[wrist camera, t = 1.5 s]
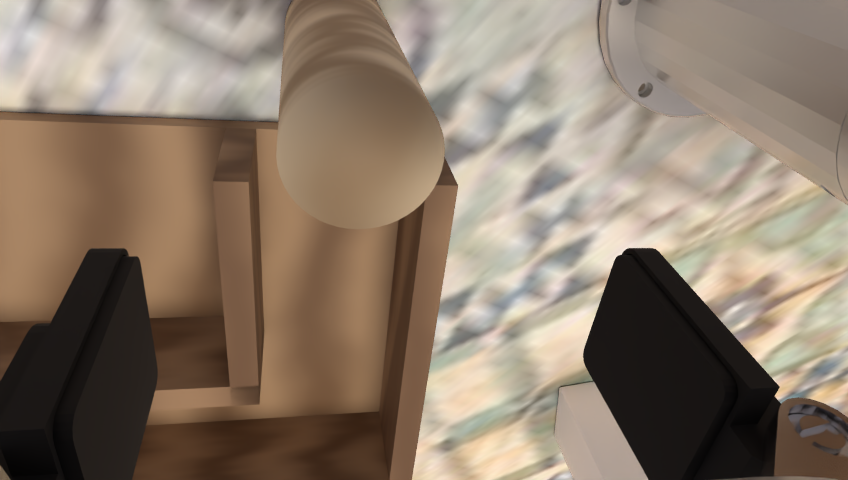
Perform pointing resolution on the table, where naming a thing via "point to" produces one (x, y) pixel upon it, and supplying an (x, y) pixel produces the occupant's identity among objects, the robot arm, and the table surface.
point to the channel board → (231, 293)
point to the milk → (592, 437)
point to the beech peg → (353, 118)
